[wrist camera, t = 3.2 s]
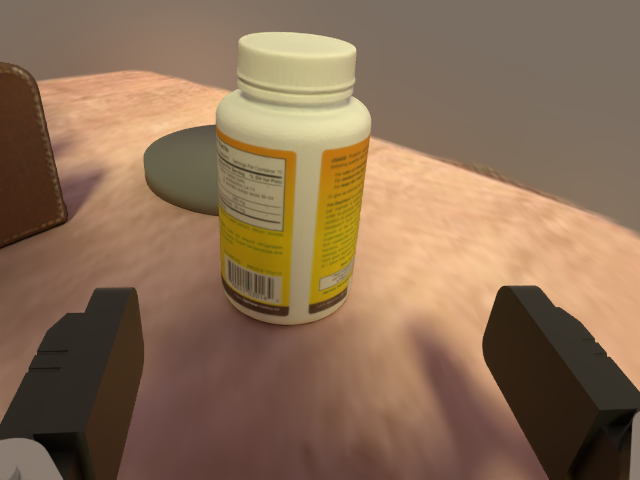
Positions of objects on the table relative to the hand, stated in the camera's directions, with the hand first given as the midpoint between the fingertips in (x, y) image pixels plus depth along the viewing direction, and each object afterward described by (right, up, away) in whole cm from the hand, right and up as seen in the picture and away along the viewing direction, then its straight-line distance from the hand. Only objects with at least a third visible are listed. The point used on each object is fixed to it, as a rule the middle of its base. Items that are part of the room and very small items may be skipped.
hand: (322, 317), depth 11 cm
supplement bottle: (-2, -1, +11) cm, 11 cm away
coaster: (-5, +6, +21) cm, 22 cm away
